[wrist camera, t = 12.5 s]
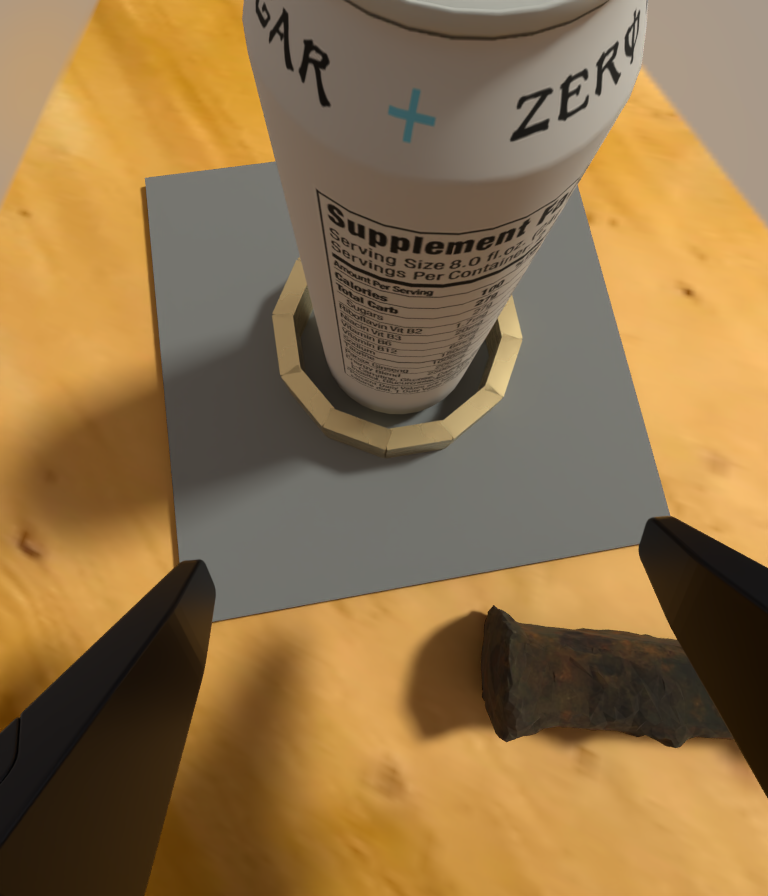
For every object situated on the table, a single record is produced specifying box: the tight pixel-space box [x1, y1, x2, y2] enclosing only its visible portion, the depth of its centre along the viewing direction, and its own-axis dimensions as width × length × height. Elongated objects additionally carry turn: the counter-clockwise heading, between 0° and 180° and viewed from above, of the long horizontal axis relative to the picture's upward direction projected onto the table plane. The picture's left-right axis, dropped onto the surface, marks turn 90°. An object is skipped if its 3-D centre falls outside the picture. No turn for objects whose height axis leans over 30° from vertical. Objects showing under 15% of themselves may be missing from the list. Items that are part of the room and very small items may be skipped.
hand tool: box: [481, 605, 734, 748], centre depth 16 cm, size 19×4×5 cm, turn 83°
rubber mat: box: [145, 162, 670, 622], centre depth 20 cm, size 20×20×1 cm
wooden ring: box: [272, 257, 522, 459], centre depth 19 cm, size 10×10×2 cm
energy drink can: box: [242, 0, 648, 414], centre depth 12 cm, size 6×6×15 cm
